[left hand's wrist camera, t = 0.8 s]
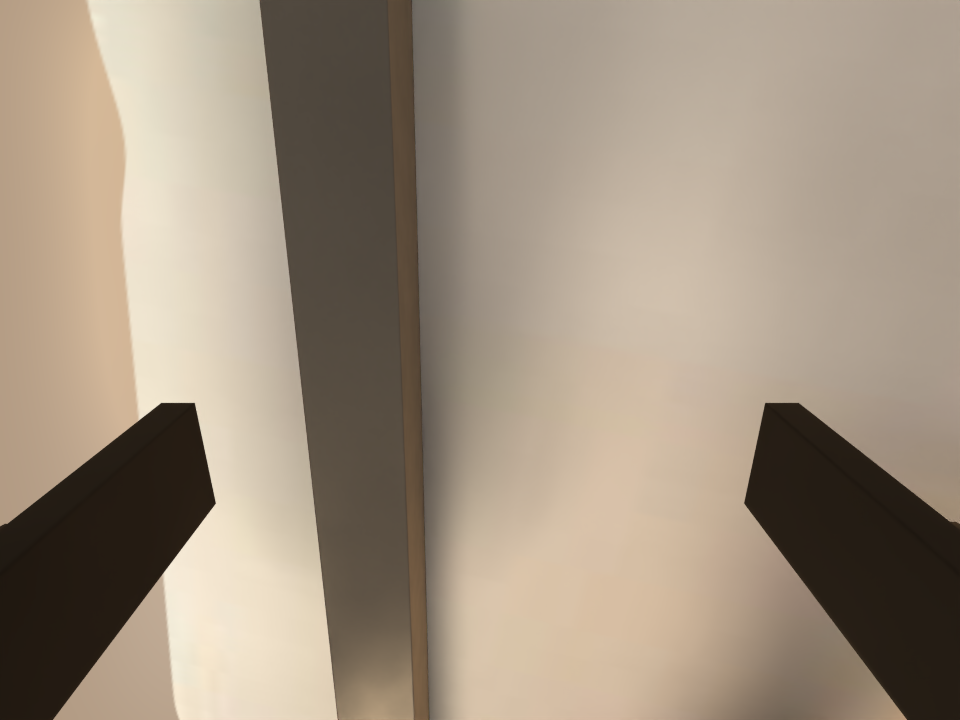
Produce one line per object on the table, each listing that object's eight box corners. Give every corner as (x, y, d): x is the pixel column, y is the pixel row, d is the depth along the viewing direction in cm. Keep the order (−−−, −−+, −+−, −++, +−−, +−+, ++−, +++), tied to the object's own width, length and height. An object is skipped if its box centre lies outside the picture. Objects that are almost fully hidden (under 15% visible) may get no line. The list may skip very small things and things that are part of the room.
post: (309, -80, 27) (239, -180, 19) (409, -78, 27) (381, -177, 19) (377, 799, 51) (359, 917, 43) (431, 799, 51) (422, 918, 43)
